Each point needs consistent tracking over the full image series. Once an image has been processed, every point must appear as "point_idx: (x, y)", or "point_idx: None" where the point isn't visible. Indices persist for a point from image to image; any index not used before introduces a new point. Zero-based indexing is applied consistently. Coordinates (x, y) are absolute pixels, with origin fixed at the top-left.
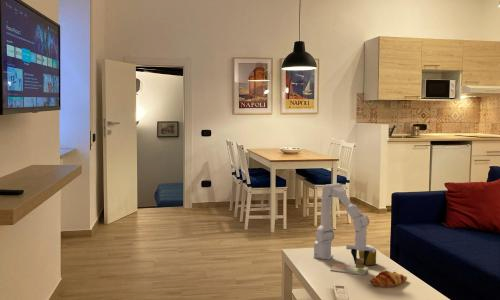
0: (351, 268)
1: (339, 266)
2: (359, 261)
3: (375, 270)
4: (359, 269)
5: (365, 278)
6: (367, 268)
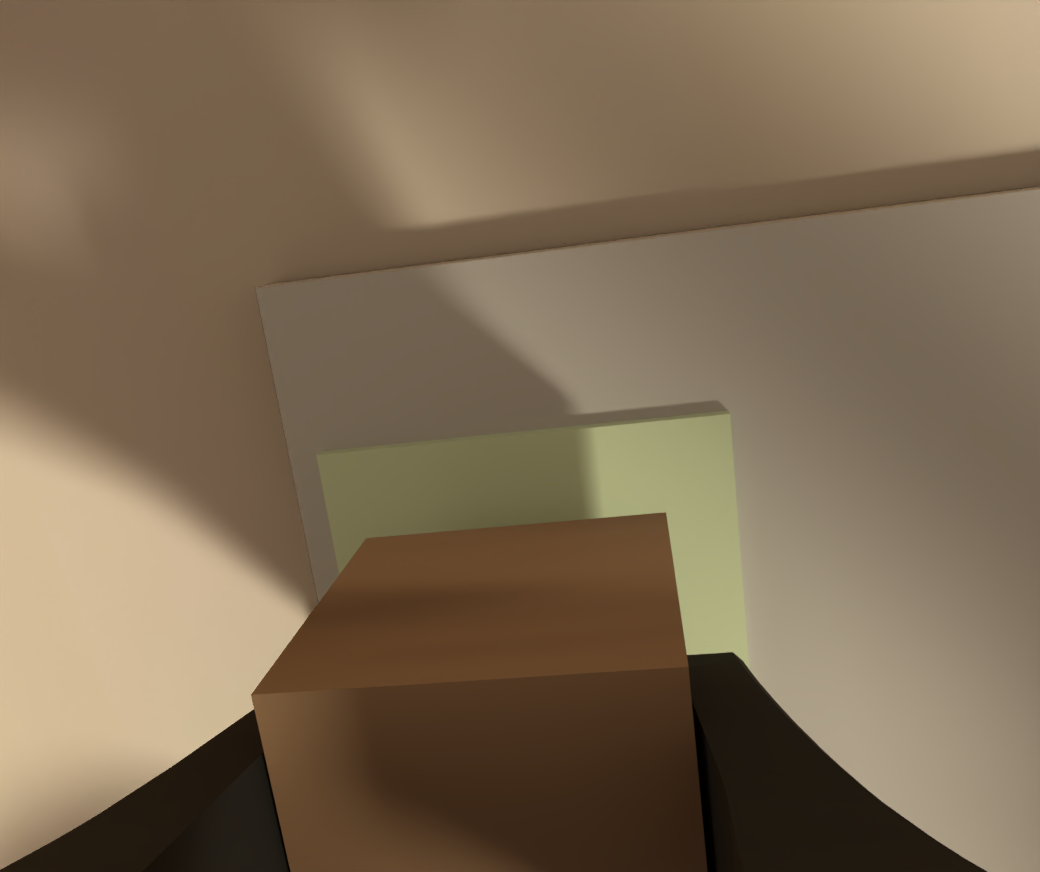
0: (847, 625)
1: None
2: (470, 664)
3: None
4: None
5: (160, 4)
6: None
